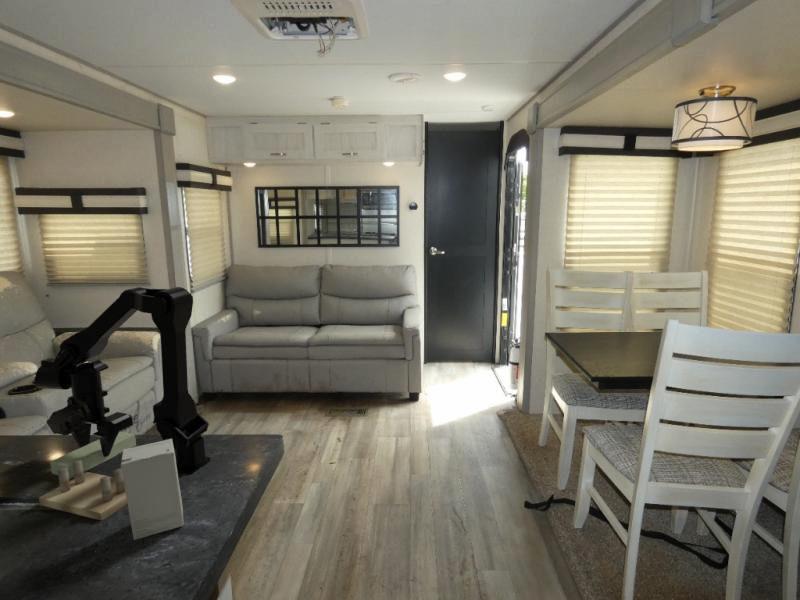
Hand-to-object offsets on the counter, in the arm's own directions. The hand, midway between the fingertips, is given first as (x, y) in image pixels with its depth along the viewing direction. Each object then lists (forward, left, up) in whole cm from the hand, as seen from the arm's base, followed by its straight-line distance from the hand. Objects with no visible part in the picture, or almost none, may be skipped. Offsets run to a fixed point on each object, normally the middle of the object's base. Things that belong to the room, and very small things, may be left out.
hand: (96, 454), depth 110 cm
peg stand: (-14, +12, -1) cm, 18 cm away
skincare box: (-33, +15, -1) cm, 36 cm away
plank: (0, 0, -1) cm, 1 cm away
